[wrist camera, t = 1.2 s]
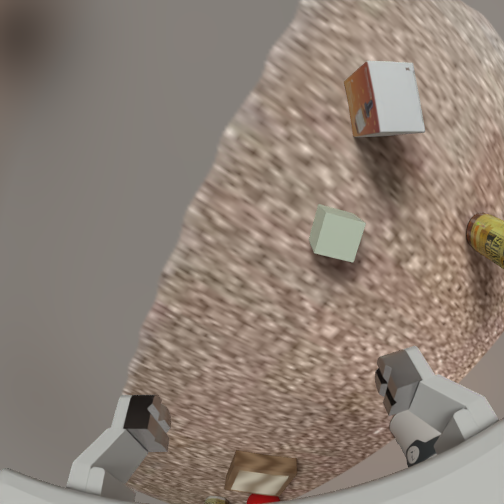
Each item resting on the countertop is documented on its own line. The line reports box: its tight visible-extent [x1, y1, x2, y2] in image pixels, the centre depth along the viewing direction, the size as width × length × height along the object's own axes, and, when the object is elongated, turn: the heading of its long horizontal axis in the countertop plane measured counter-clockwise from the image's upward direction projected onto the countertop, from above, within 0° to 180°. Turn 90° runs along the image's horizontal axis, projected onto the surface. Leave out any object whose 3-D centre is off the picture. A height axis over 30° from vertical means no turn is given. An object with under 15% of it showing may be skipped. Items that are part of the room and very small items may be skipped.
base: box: [224, 450, 297, 496], centre depth 56 cm, size 14×14×5 cm
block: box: [309, 204, 366, 262], centre depth 37 cm, size 5×5×6 cm
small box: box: [344, 61, 425, 137], centre depth 29 cm, size 8×6×10 cm
